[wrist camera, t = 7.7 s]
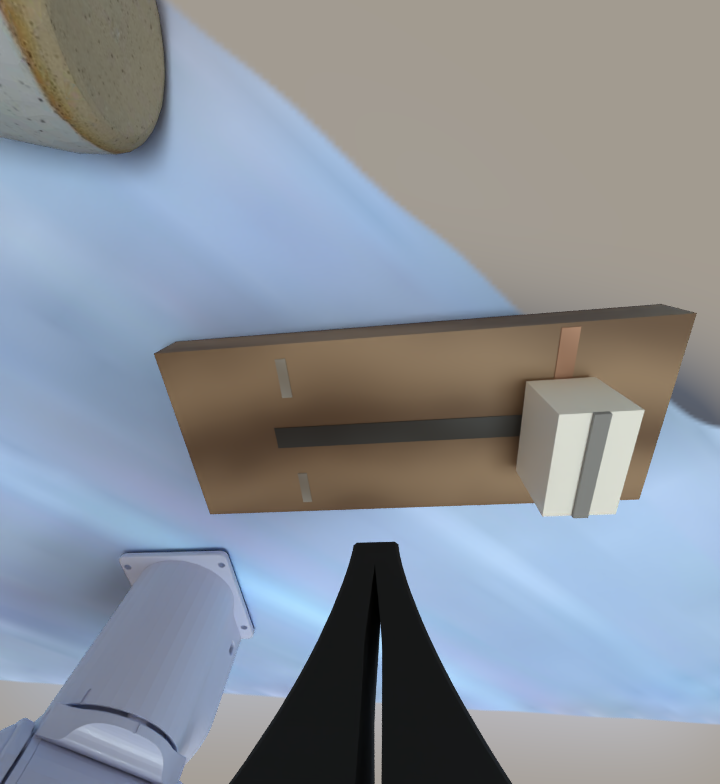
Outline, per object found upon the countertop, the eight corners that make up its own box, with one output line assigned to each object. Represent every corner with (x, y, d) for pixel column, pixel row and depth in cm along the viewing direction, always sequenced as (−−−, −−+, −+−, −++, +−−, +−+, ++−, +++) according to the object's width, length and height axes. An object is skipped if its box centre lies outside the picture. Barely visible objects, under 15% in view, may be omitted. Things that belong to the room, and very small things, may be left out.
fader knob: (576, 467, 18) (617, 516, 15) (515, 469, 18) (544, 519, 15) (594, 376, 16) (647, 411, 13) (525, 380, 16) (561, 416, 13)
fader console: (616, 475, 21) (639, 499, 19) (223, 491, 22) (209, 514, 21) (661, 304, 16) (697, 313, 15) (176, 341, 18) (153, 354, 16)
